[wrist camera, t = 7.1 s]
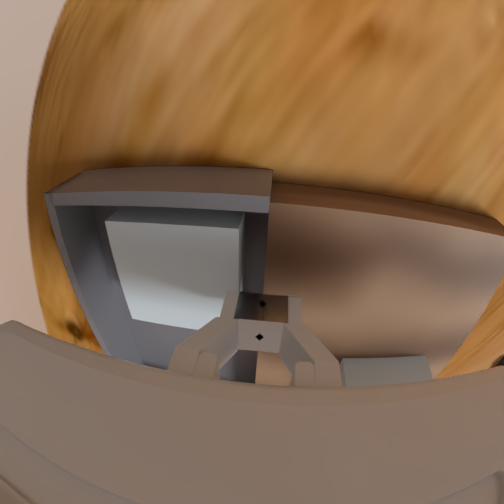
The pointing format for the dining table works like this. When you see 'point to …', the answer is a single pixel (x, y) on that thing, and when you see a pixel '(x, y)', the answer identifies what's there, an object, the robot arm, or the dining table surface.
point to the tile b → (384, 371)
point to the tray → (102, 262)
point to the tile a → (177, 261)
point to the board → (378, 273)
